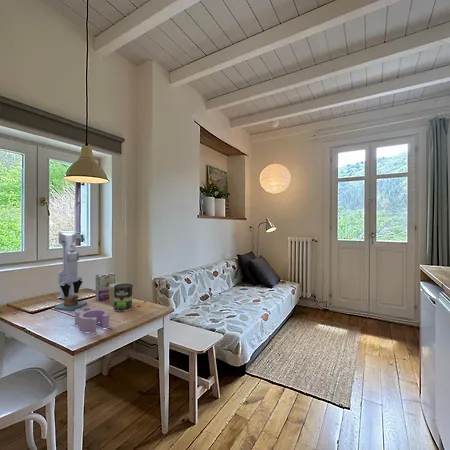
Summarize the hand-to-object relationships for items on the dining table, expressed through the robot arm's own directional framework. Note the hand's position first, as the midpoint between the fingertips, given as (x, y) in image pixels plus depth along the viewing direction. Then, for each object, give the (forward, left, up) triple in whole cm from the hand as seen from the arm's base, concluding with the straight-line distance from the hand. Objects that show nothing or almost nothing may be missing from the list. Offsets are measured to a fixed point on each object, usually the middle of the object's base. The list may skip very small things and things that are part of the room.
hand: (71, 294), depth 152 cm
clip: (+21, +30, -8) cm, 37 cm away
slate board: (0, 0, -7) cm, 7 cm away
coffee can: (-5, +31, -7) cm, 32 cm away
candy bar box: (-19, +9, -7) cm, 22 cm away
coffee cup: (-12, +22, -7) cm, 26 cm away
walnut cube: (0, 0, -6) cm, 6 cm away
